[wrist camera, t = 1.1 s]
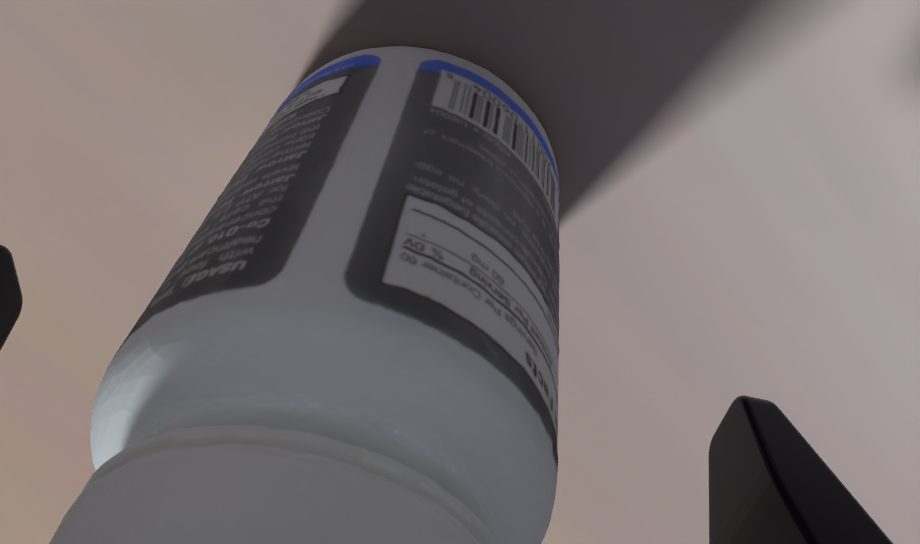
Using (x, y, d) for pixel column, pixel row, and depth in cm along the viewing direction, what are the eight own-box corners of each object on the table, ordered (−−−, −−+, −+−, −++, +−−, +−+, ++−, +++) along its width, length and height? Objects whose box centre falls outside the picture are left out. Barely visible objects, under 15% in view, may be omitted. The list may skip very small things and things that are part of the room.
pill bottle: (300, 286, 14) (64, 811, 8) (245, 37, 11) (-206, 533, 5) (558, 296, 14) (544, 872, 7) (568, 36, 11) (563, 596, 4)
